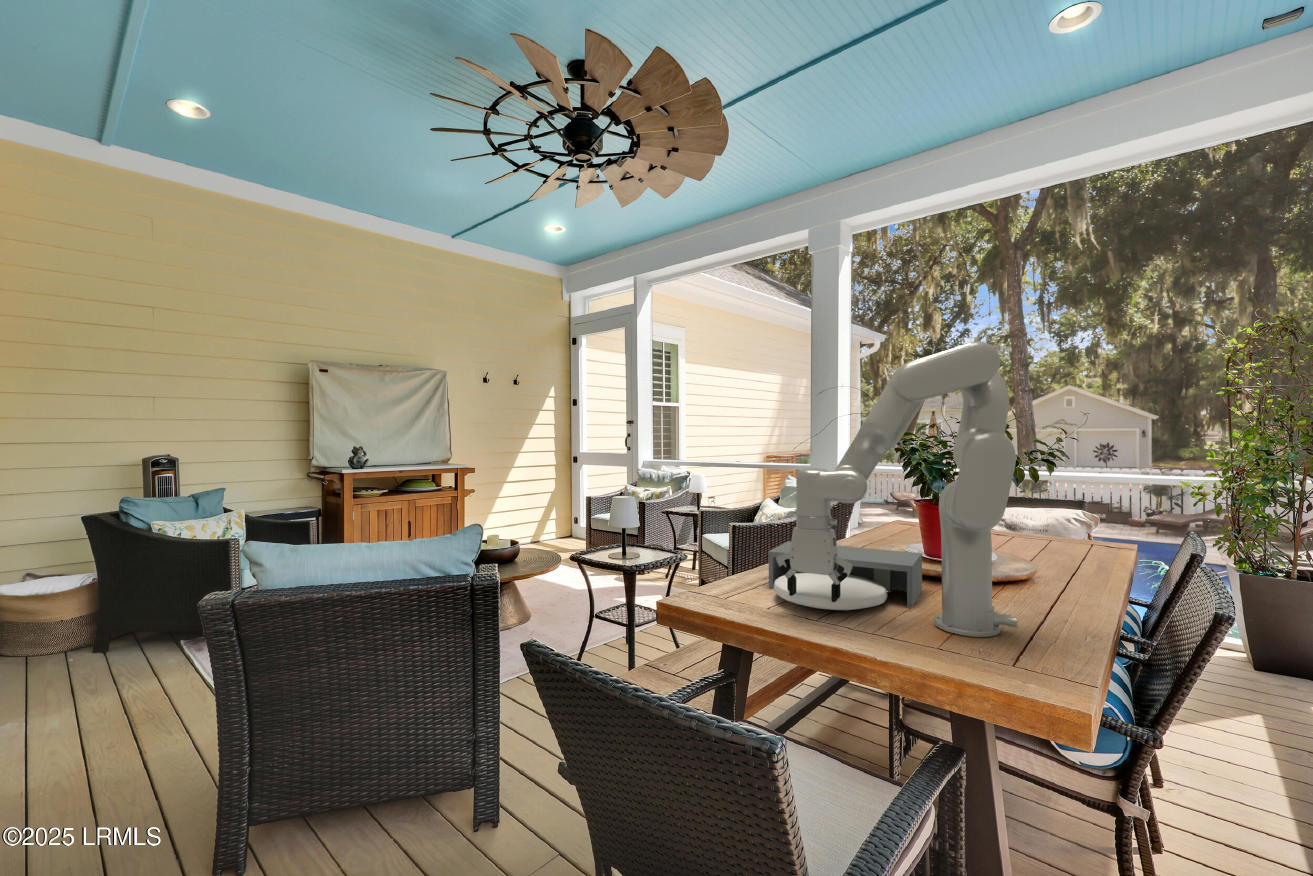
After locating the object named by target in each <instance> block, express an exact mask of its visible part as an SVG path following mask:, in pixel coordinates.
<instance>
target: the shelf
mask: <svg viewBox="0 0 1313 876" xmlns="http://www.w3.org/2000/svg"><path fill="white" fill-rule="evenodd" d="M790 549H791V541H790V540H788V541H786V542H783V543H782V544H780V545H779V546H778V545H777V546H776V547H774V548H773V549H770V550H769V551H768V552H767V554H768V589H773V590H774V583H775V580H776V579H778V578H779V577H781V576H784V575H785V574H784V573H783V572H782V571H781V569H780V566H779V565H778V562H777V560H776V558H777V557H778V556H781V555H783V554H785V553H788V552H790ZM837 552H838V556H839V557H840V558H842V559H844V560H845V561H847V562H849V563H850V564H852V565H853V568H852V570H851V572H850V573H849V575H855V576H860V577H863V578H867V579H870V580H872V581H875V582H877V583H879V584H881V585H882V586H883V587H885V589H886V591H888V592H887V593H891V592H892V591H893V590H897V589H902V590H901V591H905V590H907V591H906V607H907V608H910V607H913V608H914V606H915V605H916V603H917V601H918V600H919V598H920V595H921V594H922V592H923V559H922V558H923V553H921V552H912V551H900V550H891V549H880V548H869V547H867V548H866V547H857V546H856V547H855V546H848V545H847V546H845V545H837ZM784 561H785V564H786V565H787V566H788V567H789V569H791V567H790V558H788V559H785V560H784ZM836 571H837V572H838V573H843V571H844V567H842V566H841V565H839V564H838V569H837V570H836ZM796 573H801V572H798V571H797V572H796ZM891 590H892V591H891ZM890 591H891V592H890ZM920 593H921V594H920ZM918 597H919V598H918ZM915 602H916V603H915ZM914 604H915V605H914Z"/></svg>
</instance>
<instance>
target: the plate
mask: <svg viewBox="0 0 1313 876" xmlns="http://www.w3.org/2000/svg"><path fill="white" fill-rule="evenodd" d="M838 574H839V575H841V574H842V573H838ZM795 576H796V593H795V594H794V595H793V596H789V591H788V590H787V578H786V576H785V575H784V576H781V577H779V578H778V579H776V580H775V583H774V589H773V590H774V592H775V594H776V595H778V596H779V597H780V598H781V599H784V600H785V601H788V602H790V603H794V604H797V605H801V606H805V607H809V608H815V609H822V610H831V611H832V610H833V611H852V610H862V609H866V608H867V609H868V608H872V607H875V606H879V605H882V604H884V603H885V602H886V600H887V598H888V592H886V589H885V587H883V586H882V585H881V584H879V583H877V582H875V581H872V580H870V579H867V578H863V577H860V576H855V575H848V577H846V578H845V579H844V580H843V581H842V582H841V583H840V598H838V600H837V601H836V602H832V601H831V585H832V584H833V581H832V580H831V578H830V577H829V576H828V575H821V574H813V573H805V572H801V573H795Z"/></svg>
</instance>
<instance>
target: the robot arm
mask: <svg viewBox="0 0 1313 876" xmlns="http://www.w3.org/2000/svg"><path fill="white" fill-rule="evenodd" d="M1000 366H1001V356H1000V353H999V351H998V350H997V348H995V346H993V345H992V344H990V343H989V342H988V343H987V342H985V341H980V340H979V341H977V340H976V341H970V342H967V343H964V344H961V345H957V346H955V347H952V348H949V349H946V350H943V351H939V352H936V353H934V354H930V355H927V356H924V357H920V358H916V359H913V360H910V361H908V362H906V363H904V364H902V365H901V366H899V367H898V368H897V369H896V370H895V371H894V372H893V373H892V375H891V377H890V379H889V380H888V382H887V383H886V385H885V386H884V387H883V390H882V392H881V393H880V395H879V397H878V398H877V400H876V401H875V402H874V404H873V406H872V408H871V409H870V411H869V413H868V414H867V416H866V418H865V419H864V421H863V423H862V424H861V425H860V427H859V429H858V432H857V434H856V435H855V437H854V439H853V440H852V442H851V444H849V446H848V448H847V450H846V452H845V453H844V454H843V457H842V458H841V459H840V461H839V463H838V464H837V465H836V467H835V470H827V469H825V468H817V467H815V468H814V467H813V468H812V467H810V468H801V469H799V470H797V473H796V478H795V479H796V480H795V481H796V482H795V483H796V484H795V485H796V489H795V490H796V496H795V497H796V503H795V505H796V507H795V508H796V509H795V510H796V518H795V519H796V523H795V524H796V526H795V527H793V529H792V534H791V535H792V536H791V549H790V552H788V553H785V554H783V555H781V556H778V557H777V558H776V560H777V562H778V565H779V566H780V569H781V571H782V572H783V573H784V574H785V576H786V578H787V590H788V591H789V596H793V595H794V594H795V593H796V576H795V573H796V572H797V571H798V572H805V573H813V574H821V575H828V576H829V577H830V578H831V580H832V581H833V584H832V585H831V601H832V602H836V601H837V600H838V598H840V583H841V582H842V581H843V580H844V579H845V578H846V577H848V575H849V573H850V572H851V570H852V568H853V565H852V564H850V563H849V562H847V561H845V560H844V559H842V558H840V557H839V556H838V552H837V546H838V545H837V537H836V536H837V535H836V532H835V531H836V530H835V529H834V528H832V527H833V526H837V525H838V519H835V518H833V517H832V515H831V501H833V502H838V503H843V504H854V503H857V502H860V501H862V499H863V498H864V497H865V495H866V494H867V492H868V482H867V481H868V480H869V478H870V476H871V475H872V474H873V472H874V470H875V468H876V467H877V465H878V464H879V463H880V461H881V460H882V459H883V457H884V456H885V455H886V454H888V452H889V451H890V450H892V449H893V448H894V447H896V445H897V444H898V443H899V441H901V439H902V437H903V436H904V434H905V433H906V431H907V430H908V428H909V426H910V425H911V423H912V422H913V420H914V418H915V417H916V415H917V413H918V412H919V410H920V409H921V407H923V404H924V402H925V401H926V400H928V399H931V398H936V397H939V396H944V395H946V394H949V393H953V392H957V391H960V394H961V397H962V409H961V411H962V412H961V417H960V421H959V426H958V430H957V435H956V438H955V442H954V446H953V450H952V456H953V461H954V463H955V464H956V466H957V467H958V468H959V469H958V474H957V479H956V480H953V481H951V482H949V483H948V484H947V485H945V487H944V488H943V489H942V490H941V492H940V495H939V499H938V500H939V501H938V512H939V514H938V515H939V521H940V522H939V523H940V538H941V539H940V541H941V613H940V614H937V615H935V616H934V618H933V623H934V625H935V627H939V628H938V629H941V630H942V629H943V631H944V632H948V633H950V632H951V634H954V633H955V634H956V635H958V634H959V636H965V637H971V638H972V637H973V638H987V637H994V636H997V635H999V634H1000V633H1001V632H1002V631H1001V629H1002V628H1001V627H1002V626H1007V627H1010V628H1011V627H1012V628H1018V617H1015V616H1014V617H1013V616H1011V614H1006V613H1005V614H1003V613H998V612H997V611H995V606H994V605H993V567H992V566H993V547H992V546H993V545H992V543H993V542H992V531H991V530H993V528H995V527H996V526H997V525H999V523H1000V522H1001V521H1002V519H1003V517H1004V514H1005V512H1006V509H1007V504H1008V500H1009V495H1010V492H1011V487H1012V482H1013V479H1014V473H1015V469H1016V461H1017V458H1016V457H1017V455H1016V450H1015V446H1014V444H1013V443H1012V441H1011V440H1010V439H1009V437H1008V436H1006V435H1005V432H1006V426H1007V423H1008V422H1007V420H1008V414H1009V406H1010V395H1009V394H1010V393H1009V391H1008V387H1007V385H1006V382H1005V380H1004V379H1003V377H1002V375H1001V374H1000V372H999V369H1000ZM788 558H790V567H791V569H789V567H788V566H787V565H786V564H785V561H784V560H785V559H788ZM838 564H839V565H841V566H842V567H844V571H843V573H842V574H841V575H839V574H838V572H837V571H836V570H837V569H838Z"/></svg>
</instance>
